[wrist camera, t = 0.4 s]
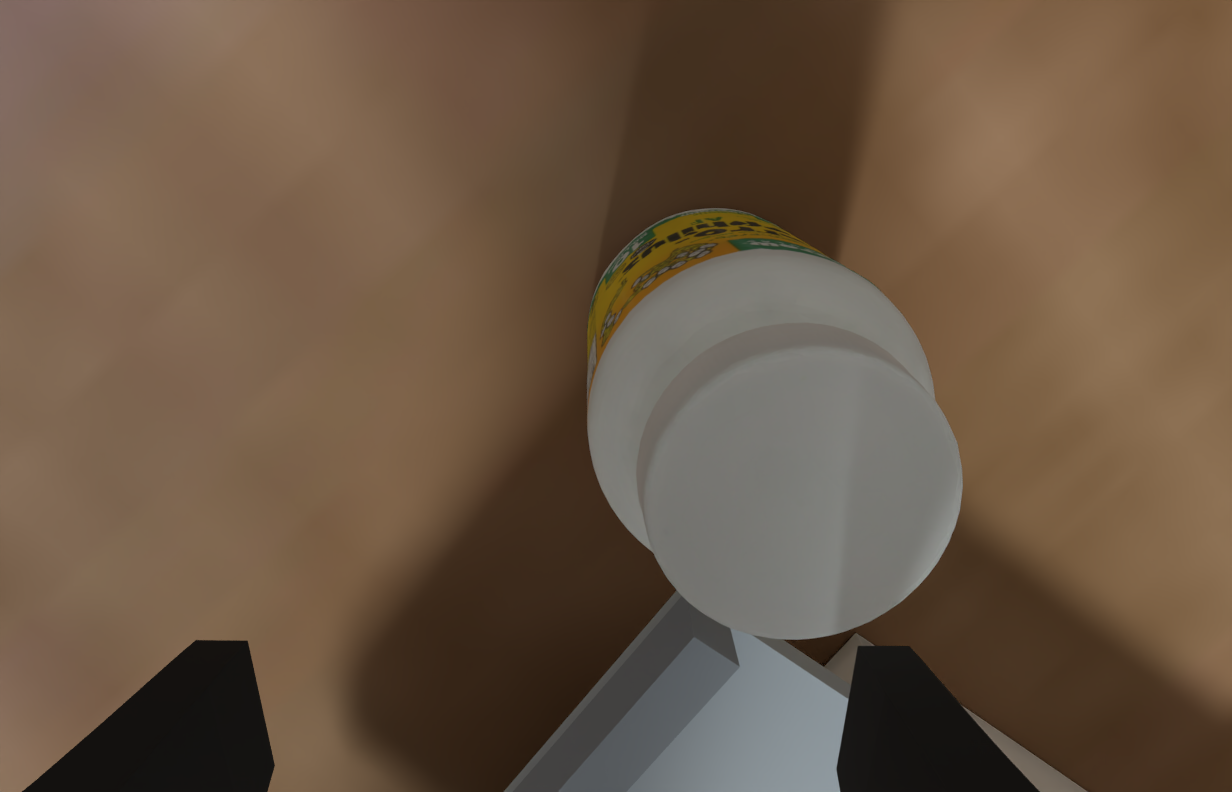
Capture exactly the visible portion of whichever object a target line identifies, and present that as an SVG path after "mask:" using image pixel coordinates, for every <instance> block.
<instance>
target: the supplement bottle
mask: <svg viewBox="0 0 1232 792" xmlns="http://www.w3.org/2000/svg"><path fill="white" fill-rule="evenodd" d="M587 356H588V372H587V431H588V440H589V448H590V453H591V458H592V463H593V467H594V470H595V473H596V476H597V479H598V481H599V484H600V487H601V489H602V491H603V493H604V495H605V497H606V499H607V501H608V502H609V504H610V506H611V508H612V509H613V511H614V512H615V514H616V515H617V517H618V518H619V519H620V521H621V522H622V523H623V524H624V526H625V527H626V528H627V529H628V530H629V531H630V532H631V533H632V534H633V535H634V536H635V537H636V538H637V539H638V540H639V541H640V542H641V543H642V544H643V545H644V546H646V547H647V548H648V549H649V550H651V551H652V552H653V553H654V556H655V558H656V560H657V562H658V563H659V565H660V567H661V569H662V570H663V572H664V574H665V576H666V577H667V579H668V580H669V581H670V582H671V584H672V585H673V586H674V587H675V589H676V590H677V591H678V592H679V594H680V595H681V596H682V597H683V598H685V599H686V600H687V601H688V602H689V603H690V604H691V605H693V606H694V607H695V608H696V609H698V610H699V611H700V612H702V613H703V614H705V615H706V616H708V617H710V618H712V619H713V620H715V621H717V622H718V623H720V624H722V625H724V626H727V627H729V628H731V629H734V630H737V631H741V632H744V633H747V634H751V635H755V636H761V637H767V638H773V639H790V640H800V639H812V638H819V637H825V636H830V635H835V634H838V633H842V632H845V631H848V630H850V629H853V628H856V627H858V626H861V625H863V624H865V623H868V622H870V621H872V620H874V619H875V618H877V617H879V616H880V615H882V614H884V613H886V612H887V611H889V610H890V609H891V608H893V607H895V606H896V605H898V604H899V603H900V602H902V601H903V600H904V599H905V598H906V597H907V596H908V595H909V594H910V593H911V592H912V591H913V590H915V589H916V588H917V587H918V586H919V585H920V584H921V583H922V582H923V580H924V579H925V578H926V577H927V576H928V575H929V574H930V572H931V571H932V569H933V568H934V567H935V565H936V564H937V563H938V561H939V559H940V557H941V556H942V554H943V552H944V550H945V549H946V547H947V545H948V543H949V541H950V538H951V535H952V532H953V531H954V529H955V525H956V522H957V518H958V515H959V511H960V506H961V497H962V488H963V482H962V466H961V461H960V456H959V450H958V444H957V441H956V439H955V437H954V434H953V432H952V430H951V428H950V426H949V423H948V421H947V419H946V417H945V415H944V414H943V412H942V410H941V409H940V407H939V406H938V404H937V402H936V401H935V395H934V387H933V381H932V376H931V372H930V369H929V365H928V362H927V359H926V356H925V354H924V351H923V349H922V347H921V345H920V342H919V340H918V338H917V336H916V335H915V333H914V331H913V330H912V328H911V326H910V325H909V323H908V322H907V320H906V319H905V318H904V316H903V315H902V314H901V312H900V311H899V310H898V309H897V308H896V307H895V306H894V305H893V303H892V302H891V301H890V300H889V299H888V298H887V297H886V296H885V295H884V294H883V293H882V292H881V291H880V290H879V289H878V288H877V287H876V286H875V285H873V284H872V283H871V282H870V281H868V280H867V279H865V278H864V277H862V276H860V275H859V274H857V273H855V272H854V271H852V270H850V269H848V268H846V267H845V266H844V265H842V264H840V263H838V262H837V261H835V260H833V259H831V258H830V257H828V256H826V255H825V254H823V253H822V252H820V251H819V250H817V249H815V248H813V247H811V246H810V245H809V244H807V243H806V242H804V241H802V240H801V239H799V238H796V237H795V236H793V235H791V234H790V233H789V232H787V231H785V230H783V229H781V228H780V227H778V226H777V225H775V224H773V223H771V222H769V221H767V220H765V219H762V218H760V217H758V216H756V215H753V214H751V213H747V212H743V211H739V210H734V209H726V208H707V209H697V210H689V211H685V212H682V213H678V214H675V215H672V216H669V217H666V218H664V219H662V220H660V221H658V222H656V223H655V224H653V225H651V226H650V227H648V228H647V229H645V230H644V231H643V232H641V233H640V234H639V235H637V236H636V237H635V238H634V239H633V240H632V241H631V242H630V243H629V244H628V245H627V246H625V247H624V248H623V249H622V251H621V252H620V253H619V254H618V255H617V256H616V257H615V258H614V260H613V261H612V262H611V263H610V265H609V266H608V268H607V269H606V270H605V272H604V273H603V275H602V277H601V279H600V281H599V283H598V285H597V287H596V290H595V293H594V296H593V299H592V302H591V306H590V311H589V317H588V326H587Z"/></svg>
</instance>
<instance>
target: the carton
mask: <svg viewBox="0 0 1232 792" xmlns="http://www.w3.org/2000/svg"><path fill="white" fill-rule="evenodd" d="M858 646H875V645H873V644H872V643H870V642H869V641H867V640H866V639H864V638H863V637H862V636H860V635H859V634H857V633H855V634H854V635H853V636H852V637H851V638H850V640H849V641H848V642H847V643H846V644H845V645H844V646H843V647H842V648H841V649H840V650H839V651H838V652H837V653H836V654H835V655H834V657H833V658H832V659H831V660H830V661H829V662H828V663H827V664H826V665H825V666H824V667H825V668H826V669H828V670H829V671H831V672H832V673H834V674H835V675H837V676H838V677H839V678H841V679H842V680H844V681H845V682H847V683H848V684H850V685H851V682H852V676H853V671H854V665H855V659H856V653H857V648H858ZM962 707H963V708H964V709H965V710H966V711H967V712H968V713H969V715H970V716H971V717H972V718H973V719H974V720H975V721H976V723H977V724H978V725H979V726H980V727H981V728H982V729H983V730H984V732H985V733H986V734H987V735H988V736H989V737H990V738H991V739H992V741H993V742H994V743H995V744H996V745H997V746H998V747H999V748H1000V749H1001V750H1002V752H1003V753H1004V754H1005V755H1006V756H1007V757H1008V758H1009V759H1010V760H1011V761H1012V762H1013V764H1014V765H1015V766H1016V767H1017V768H1018V769H1019V770H1020V771H1021V772H1022V773H1023V774H1024V775H1025V776H1026V777H1027V778H1028V779H1029V781H1030V782H1031V783H1032V784H1033V785H1034V786H1035V787H1036V788H1037V789H1038V790H1039V791H1040V792H1088V791H1086V790H1085V789H1083V788H1082V787H1080V786H1079V785H1077V784H1076V783H1074V782H1073V781H1072V780H1070V779H1069V778H1067V777H1066V776H1064V775H1063V774H1061V773H1060V772H1058V771H1057V770H1056V769H1054V768H1053V767H1051V766H1050V765H1048V764H1047V763H1045V762H1044V761H1042V760H1041V759H1039V758H1038V757H1037V756H1035V755H1034V754H1032V753H1031V752H1029V751H1028V750H1026V749H1025V748H1023V747H1022V746H1021V745H1019V744H1018V743H1016V742H1015V741H1013V740H1012V739H1010V738H1009V737H1007V736H1006V735H1004V734H1003V733H1002V732H1000V731H999V730H997V729H996V728H994V727H993V726H991V725H990V724H988V723H987V722H986V721H984V720H983V719H981V718H980V717H978V716H977V715H975V714H974V713H972V712H971V711H969V710H968V709H967V708H965V707H964V706H962Z"/></svg>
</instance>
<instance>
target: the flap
mask: <svg viewBox="0 0 1232 792" xmlns="http://www.w3.org/2000/svg"><path fill="white" fill-rule="evenodd" d="M850 688H851V685H850V684H848V683H847V682H845V681H844V680H842V679H841V678H839V677H838V676H837V675H835V674H834V673H832V672H831V671H829V670H828V669H826V668H825V667H823V666H822V665H820V664H819V663H817V662H816V661H814V660H813V659H811V658H810V657H808V656H807V655H805V654H804V653H802V652H801V651H799V650H798V649H796V648H795V647H793V646H792V645H790V644H789V643H787V642H786V641H784V640H783V639H773V638H767V637H761V636H755V635H751V634H747V633H744V632H741V631H737V630H734V629H731V628H729V627H727V626H724V625H722V624H720V623H718V622H717V621H715V620H713V619H712V618H710V617H708V616H706V615H705V614H703V613H702V612H700V611H699V610H698V609H696V608H695V607H694V606H693V605H691V604H690V603H689V602H688V601H687V600H686V599H685V598H683V597H682V596H681V595H680V594H679V592H678V591H676V592H675V593H674V594H673V595H672V596H671V597H670V599H669V600H668V601H667V602H666V603H665V604H664V606H663V607H662V608H661V609H660V610H659V611H658V613H657V614H656V615H655V616H654V617H653V618H652V620H651V621H650V622H649V623H648V624H647V625H646V627H645V628H644V629H643V630H642V631H641V632H640V634H639V635H638V636H637V637H636V638H635V639H634V641H633V642H632V643H631V644H630V645H629V646H628V648H627V649H626V650H625V651H624V652H623V653H622V654H621V656H620V657H619V658H618V659H617V660H616V661H615V663H614V664H613V665H612V666H611V667H610V668H609V670H608V671H607V672H606V673H605V674H604V675H603V677H602V678H601V679H600V680H599V681H598V682H597V684H596V685H595V686H594V687H593V688H592V689H591V691H590V692H589V693H588V694H587V695H586V696H585V698H584V699H583V700H582V701H581V702H580V703H579V705H578V706H577V707H576V708H575V709H574V710H573V711H572V713H571V714H570V715H569V716H568V717H567V718H566V720H565V721H564V722H563V723H562V724H561V725H560V727H559V728H558V729H557V730H556V731H555V732H554V734H553V735H552V736H551V737H550V738H549V739H548V741H547V742H546V743H545V744H544V745H543V746H542V748H541V749H540V750H539V751H538V752H537V753H536V755H535V756H534V757H533V758H532V759H531V760H530V762H529V763H528V764H527V765H526V766H525V767H524V769H523V770H522V771H521V772H520V773H519V774H518V775H517V777H516V778H515V779H514V780H513V781H512V782H511V784H510V785H509V786H508V787H507V788H506V789H505V791H504V792H840V787H839V781H838V776H837V770H836V768H837V762H838V756H839V751H840V745H841V739H842V734H843V728H844V722H845V716H846V711H847V705H848V699H849V693H850Z"/></svg>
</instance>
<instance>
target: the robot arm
mask: <svg viewBox="0 0 1232 792" xmlns="http://www.w3.org/2000/svg"><path fill="white" fill-rule="evenodd" d="M274 766H275V765H274V760H273V755H272V751H271V746H270V742H269V737H268V732H267V728H266V723H265V719H264V714H263V709H262V705H261V700H260V696H259V691H258V686H257V682H256V677H255V673H254V668H253V663H252V659H251V654H250V650H249V645H248V641H214V640H196V641H194V642H193V643H192V644H191V645H190V646H189V647H187V648H186V649H185V650H184V651H183V652H182V653H180V654H179V655H178V656H177V657H176V658H175V659H173V660H172V661H171V662H170V663H169V664H168V665H167V666H166V667H164V668H163V669H162V670H161V671H160V672H159V673H158V674H157V675H155V676H154V677H153V678H152V679H151V680H150V681H149V682H148V683H146V684H145V685H144V686H143V687H142V688H141V689H140V690H139V691H138V692H136V693H135V694H134V695H133V696H132V697H131V698H130V699H129V700H127V701H126V702H125V703H124V704H123V705H122V706H121V707H120V708H118V709H117V710H116V711H115V712H114V713H113V714H112V715H111V716H109V717H108V718H107V719H106V720H105V721H104V722H103V723H102V724H100V725H99V726H98V727H97V728H96V729H95V730H94V731H92V732H91V733H90V734H89V735H88V736H87V737H85V738H84V739H83V740H82V741H81V742H80V743H79V744H77V745H76V746H75V747H74V748H73V749H72V750H70V751H69V752H68V753H67V754H66V755H65V756H64V757H62V758H61V759H60V760H59V761H58V762H57V763H55V764H54V765H53V766H52V767H51V768H50V769H49V770H47V771H46V772H45V773H44V774H43V775H42V776H40V777H39V778H38V779H37V780H36V781H34V782H33V783H32V784H31V785H30V786H28V787H27V788H26V789H25V790H23V791H22V792H267V791H268V787H269V784H270V780H271V777H272V773H273V770H274ZM836 770H837V776H838V781H839V787H840V792H1040V791H1039V790H1038V789H1037V788H1036V787H1035V786H1034V785H1033V784H1032V783H1031V782H1030V781H1029V779H1028V778H1027V777H1026V776H1025V775H1024V774H1023V773H1022V772H1021V771H1020V770H1019V769H1018V768H1017V767H1016V766H1015V765H1014V764H1013V762H1012V761H1011V760H1010V759H1009V758H1008V757H1007V756H1006V755H1005V754H1004V753H1003V752H1002V750H1001V749H1000V748H999V747H998V746H997V745H996V744H995V743H994V742H993V741H992V739H991V738H990V737H989V736H988V735H987V734H986V733H985V732H984V730H983V729H982V728H981V727H980V726H979V725H978V724H977V723H976V721H975V720H974V719H973V718H972V717H971V716H970V715H969V713H968V712H967V711H966V710H965V709H964V708H963V707H962V705H961V704H960V703H959V702H958V701H957V700H956V699H955V697H954V696H953V695H952V694H951V693H950V692H949V691H948V689H947V688H946V687H945V686H944V685H943V684H942V682H941V681H940V680H939V679H938V678H937V677H936V676H935V674H934V673H933V672H932V671H931V670H930V669H929V668H928V666H927V665H926V664H925V663H924V662H923V661H922V660H921V658H920V657H919V656H918V655H917V654H916V653H915V652H914V651H913V650H912V649H911V647H910V646H858V648H857V653H856V659H855V665H854V671H853V676H852V682H851V688H850V693H849V699H848V705H847V711H846V716H845V722H844V728H843V734H842V739H841V745H840V751H839V756H838V762H837V768H836Z"/></svg>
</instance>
